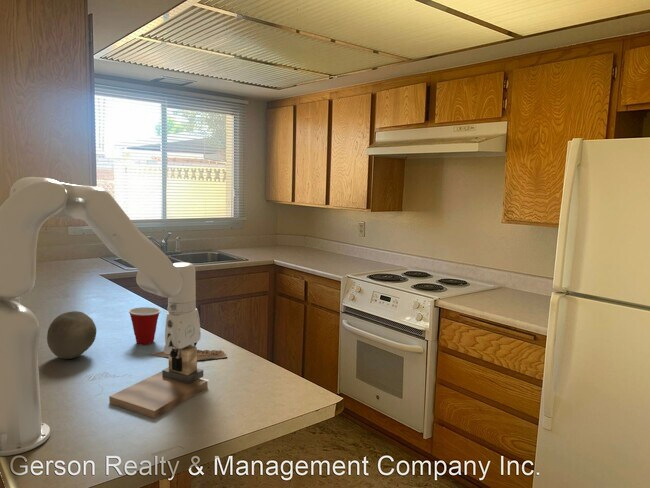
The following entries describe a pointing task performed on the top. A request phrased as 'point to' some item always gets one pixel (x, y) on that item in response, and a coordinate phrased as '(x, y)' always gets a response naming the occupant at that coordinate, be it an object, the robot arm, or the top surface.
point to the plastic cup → (144, 324)
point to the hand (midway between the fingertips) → (182, 366)
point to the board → (156, 395)
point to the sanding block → (185, 367)
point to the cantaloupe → (71, 334)
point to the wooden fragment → (200, 354)
